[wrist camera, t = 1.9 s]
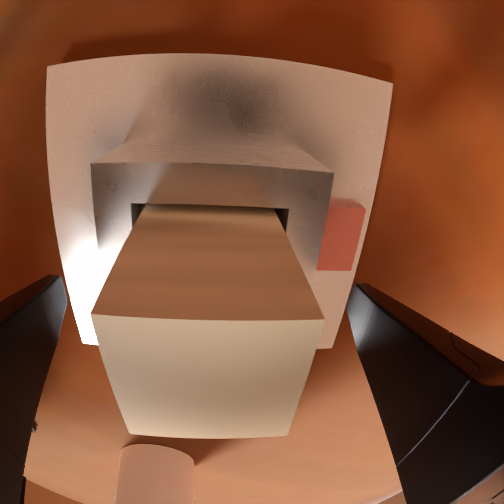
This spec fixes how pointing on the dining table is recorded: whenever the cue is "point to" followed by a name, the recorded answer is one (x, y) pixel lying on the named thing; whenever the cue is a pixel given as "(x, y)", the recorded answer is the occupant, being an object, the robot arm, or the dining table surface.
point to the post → (207, 323)
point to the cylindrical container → (154, 476)
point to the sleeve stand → (213, 158)
